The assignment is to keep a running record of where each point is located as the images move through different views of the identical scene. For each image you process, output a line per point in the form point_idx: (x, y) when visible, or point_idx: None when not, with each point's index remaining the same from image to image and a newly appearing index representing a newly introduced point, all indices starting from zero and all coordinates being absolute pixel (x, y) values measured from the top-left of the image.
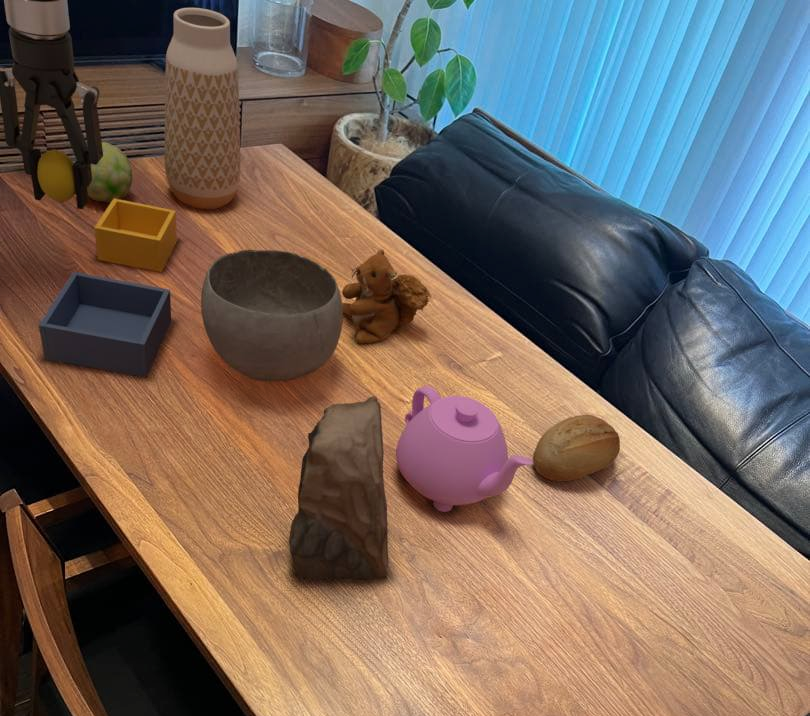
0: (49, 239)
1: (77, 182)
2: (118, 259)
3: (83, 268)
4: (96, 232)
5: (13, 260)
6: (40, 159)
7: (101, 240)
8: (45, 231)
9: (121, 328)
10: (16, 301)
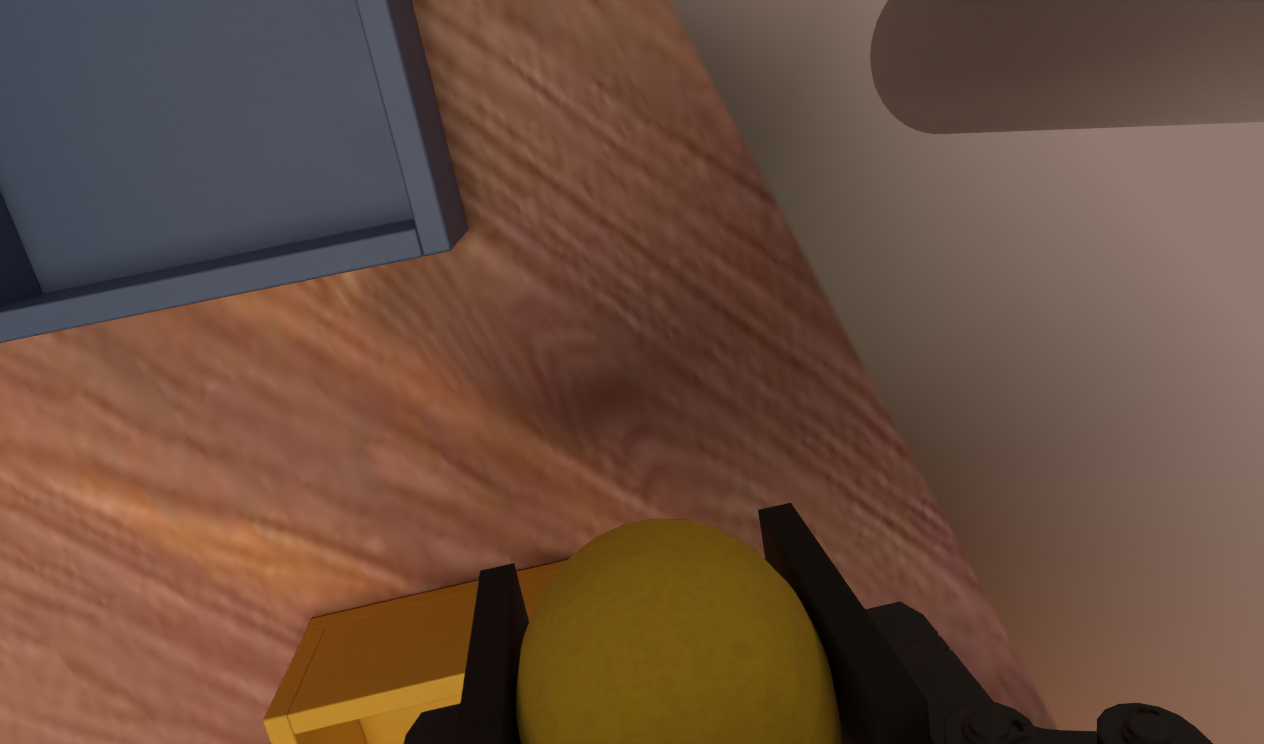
0: None
1: (477, 691)
2: None
3: (592, 477)
4: None
5: (851, 383)
6: (812, 723)
7: None
8: None
9: (165, 124)
10: (697, 122)
